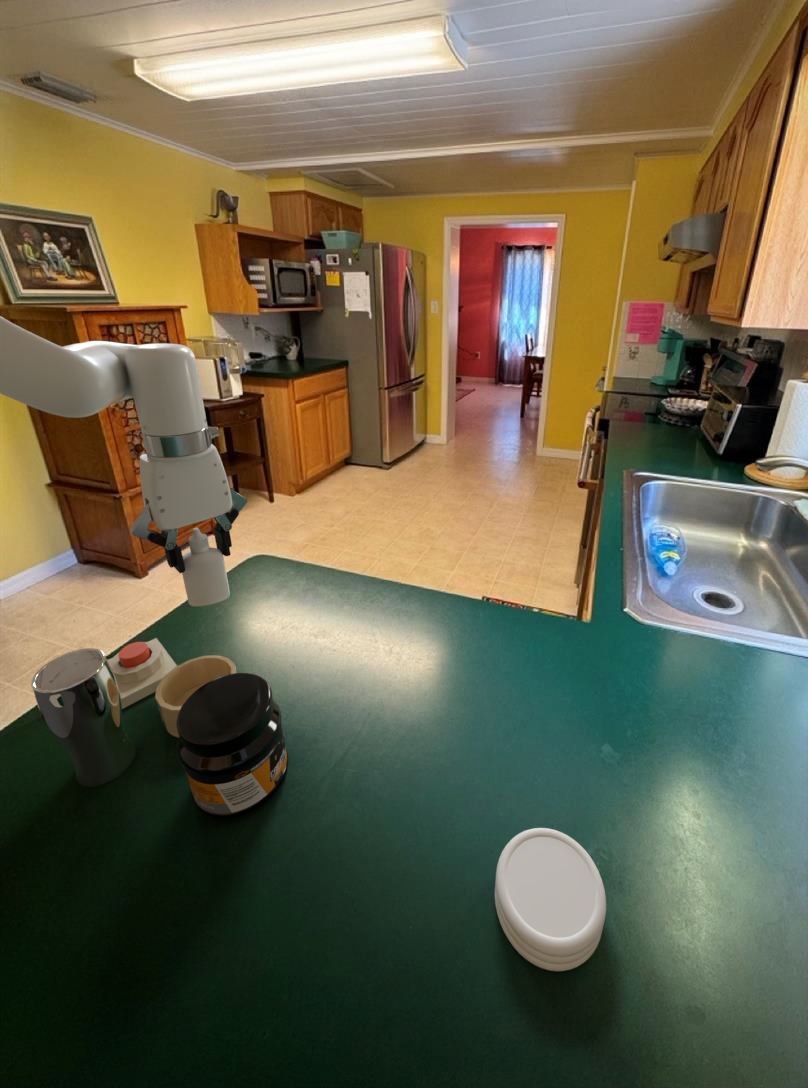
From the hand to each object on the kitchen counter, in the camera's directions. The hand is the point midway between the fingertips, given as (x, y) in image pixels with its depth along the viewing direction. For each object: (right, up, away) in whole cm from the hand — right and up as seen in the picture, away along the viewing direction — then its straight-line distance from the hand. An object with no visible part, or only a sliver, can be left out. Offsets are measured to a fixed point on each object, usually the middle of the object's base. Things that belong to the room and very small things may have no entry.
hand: (202, 559), depth 69 cm
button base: (-10, -18, +2) cm, 20 cm away
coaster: (+45, -29, -24) cm, 59 cm away
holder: (+2, -20, -4) cm, 21 cm away
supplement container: (+12, -24, -13) cm, 30 cm away
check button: (-10, -15, +1) cm, 18 cm away
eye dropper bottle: (0, -7, +3) cm, 7 cm away
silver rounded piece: (-6, -23, -11) cm, 27 cm away
